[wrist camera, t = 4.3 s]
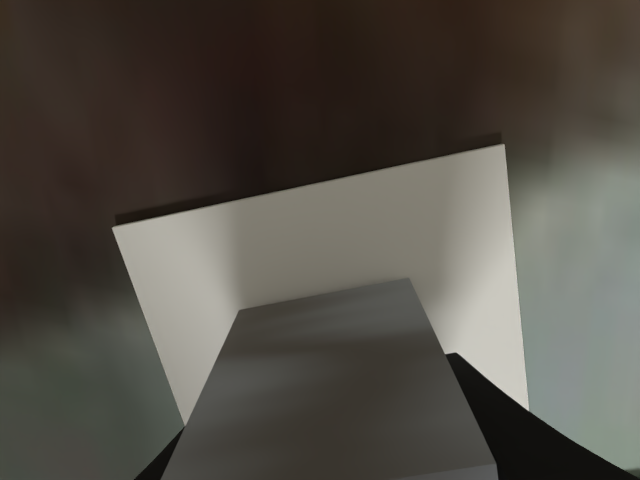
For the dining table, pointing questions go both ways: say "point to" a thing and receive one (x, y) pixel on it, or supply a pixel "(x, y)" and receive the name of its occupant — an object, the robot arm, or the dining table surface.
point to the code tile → (338, 261)
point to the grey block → (333, 396)
